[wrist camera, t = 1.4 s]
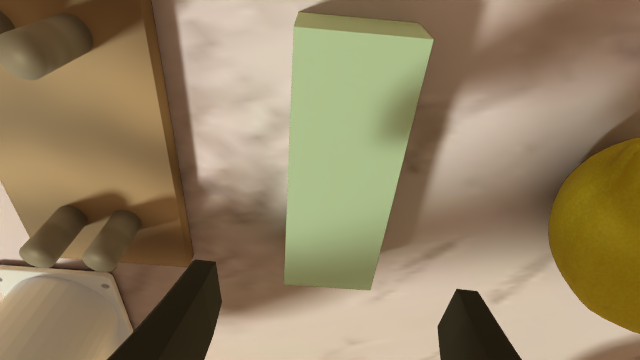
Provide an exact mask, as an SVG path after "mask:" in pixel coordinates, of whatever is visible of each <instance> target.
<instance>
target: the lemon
mask: <svg viewBox="0 0 640 360" xmlns="http://www.w3.org/2000/svg"><path fill="white" fill-rule="evenodd" d="M548 235H549V244H550V248H551V252H552V255H553V257H554V260H555V262H556V265H557V267H558V269H559V271H560V272H561V274H562V276H563V278H564V279H565V281H566V282H567V284H568V285H569V286H570V288H571V289H572V291H573V292H574V293H575V294H576V296H577V297H578V298H579V300H580V301H581V302H582V303H583V304H584V305H585V306H586V307H587V308H588V309H590V310H591V311H593V312H594V313H596V314H598V315H599V316H601V317H602V318H604V319H606V320H608V321H610V322H612V323H615V324H617V325H619V326H621V327H623V328H626V329H628V330H630V331H633V332H636V333H639V334H640V137H639V138H633V139H630V140H627V141H624V142H621V143H618V144H615V145H612V146H610V147H608V148H606V149H604V150H602V151H600V152H598V153H596V154H595V155H593V156H591V157H590V158H588V159H587V160H586V161H584V162H583V163H582V164H581V165H580V166H578V167H577V168H576V169H575V170H574V171H573V172H572V173H571V174H570V175H569V176H568V177H567V178H566V180H565V181H564V182H563V184H562V186H561V188H560V190H559V192H558V194H557V196H556V198H555V200H554V202H553V206H552V209H551V213H550V219H549V229H548Z"/></svg>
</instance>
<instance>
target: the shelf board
mask: <svg viewBox="0 0 640 360" xmlns="http://www.w3.org/2000/svg"><path fill="white" fill-rule="evenodd" d="M433 40H434V39H433V38H432V37H431V36H430V35H429V34H428V33H427V31H426V30H425V29H424V28H423V27H422V26H421V25H420V24H419V23H414V22H403V21H392V20H382V19H371V18H360V17H349V16H338V15H328V14H317V13H306V12H298V15H297V18H296V21H295V25H294V35H293V60H292V86H291V112H290V138H289V164H288V190H287V216H286V242H285V268H284V285H297V286H312V287H327V288H342V289H357V290H371V286H372V282H373V278H374V274H375V270H376V266H377V262H378V258H379V254H380V250H381V246H382V242H383V238H384V235H385V231H386V227H387V223H388V219H389V215H390V211H391V207H392V203H393V199H394V195H395V191H396V187H397V183H398V179H399V175H400V171H401V167H402V163H403V159H404V155H405V151H406V147H407V143H408V139H409V135H410V131H411V128H412V124H413V120H414V116H415V112H416V108H417V104H418V100H419V96H420V92H421V88H422V84H423V80H424V76H425V72H426V68H427V64H428V60H429V56H430V52H431V48H432V44H433Z"/></svg>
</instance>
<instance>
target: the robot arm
mask: <svg viewBox="0 0 640 360" xmlns="http://www.w3.org/2000/svg"><path fill="white" fill-rule="evenodd" d="M0 293H1V294H2V296H3V297H4V299H3V300H2V301H1V302H0V360H204V359H205V356H206V353H207V351H208V348H209V345H210V343H211V340H212V337H213V334H214V330H215V327H216V323H217V319H218V315H219V311H220V307H221V303H222V300H221V294H220V287H219V281H218V274H217V267H216V262H212V261H203V260H194V261H193V262H192V263H191V264H190V265H189V267H188V268H187V269H186V271H185V272H184V273H183V274H182V276H181V277H180V278H179V280H178V281H177V282H176V283H175V285H174V286H173V287H172V288H171V289H170V291H169V292H168V293H167V294H166V295H165V297H164V298H163V299H162V300H161V301H160V303H159V304H158V305H157V306H156V307H155V308H154V309H153V311H152V312H151V313H150V314H149V315H148V316H147V317H146V318H145V320H144V321H143V322H142V323H141V324H140V325H139V326H138V327H137V328H136V330H135V331H134V332H133V329H132V326H131V323H130V321H129V318H128V315H127V313H126V310H125V307H124V304H123V302H122V299H121V296H120V293H119V291H118V288H117V285H116V282H115V280H114V277H113V276H112V275H111V274H109V273H106V272H95V271H81V270H66V269H52V268H38V267H23V266H9V265H0ZM438 337H439V348H440V358H441V360H522V359H521V358H520V356H519V355H518V353H517V352H516V351H515V349H514V347H513V346H512V344H511V343H510V341H509V340H508V338H507V337H506V335H505V334H504V332H503V331H502V329H501V327H500V326H499V324H498V323H497V321H496V320H495V318H494V316H493V315H492V313H491V312H490V310H489V308H488V307H487V305H486V304H485V302H484V300H483V299H482V297H481V296H480V294H479V293H478V292H477V291H471V290H462V289H456V291H455V293H454V295H453V297H452V299H451V301H450V303H449V305H448V307H447V309H446V311H445V313H444V315H443V317H442V319H441V321H440V323H439V325H438Z"/></svg>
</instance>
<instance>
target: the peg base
mask: <svg viewBox="0 0 640 360" xmlns="http://www.w3.org/2000/svg"><path fill="white" fill-rule="evenodd" d="M0 181H1V182H2V184H3V186H4V188H5V190H6V192H7V194H8V196H9V198H10V200H11V202H12V204H13V206H14V208H15V210H16V212H17V213H18V215H19V217H20V219H21V221H22V223H23V225H24V227H25V229H26V231H27V233H28V235H29V237H30V239H29V240H28V241H27V242H26V243H25V244H24V245H23V246H22V247H21V249H20V250H19V254H20V256H21V258H22V259H23V260H24V261H25V262H27V263H28V264H30V265H32V266H35V267H38V268H50V267H52V266H53V265H54V264H55V263H56V261H57V260H58V259H59V258H68V259H82V260H83V262H84V263H85V264H86V265H87V266H88V267H89V268H91V269H93V270H95V271H98V272H111V271H113V270H114V269H115V268H116V266H117V265H118V263H119V262H125V263H139V264H153V265H167V266H181V267H189V265H190V262H191V260H192V257H193V250H192V244H191V238H190V232H189V226H188V220H187V214H186V208H185V202H184V196H183V190H182V184H181V178H180V172H179V166H178V160H177V154H176V148H175V142H174V136H173V130H172V124H171V118H170V112H169V106H168V100H167V94H166V88H165V82H164V76H163V70H162V64H161V58H160V52H159V46H158V40H157V34H156V28H155V22H154V16H153V10H152V4H151V0H0Z"/></svg>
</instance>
